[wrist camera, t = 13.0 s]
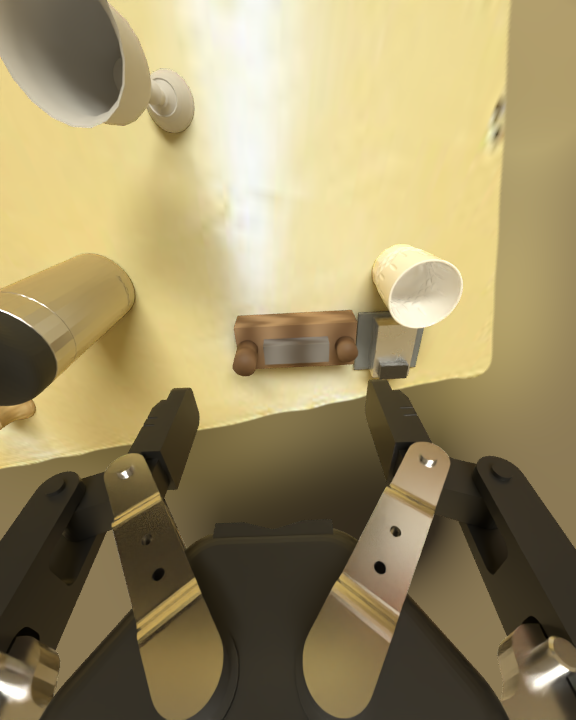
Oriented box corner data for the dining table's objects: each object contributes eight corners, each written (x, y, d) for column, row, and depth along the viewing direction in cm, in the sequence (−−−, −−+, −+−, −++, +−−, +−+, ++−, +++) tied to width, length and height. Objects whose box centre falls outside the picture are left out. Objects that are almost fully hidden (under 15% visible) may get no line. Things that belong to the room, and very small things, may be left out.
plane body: (244, 355, 48) (236, 388, 41) (237, 315, 44) (228, 344, 37) (348, 350, 47) (359, 382, 40) (351, 310, 44) (364, 338, 36)
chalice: (123, 58, 29) (-55, -59, 14) (190, 46, 28) (83, -87, 13) (151, 149, 33) (37, 136, 18) (210, 140, 32) (145, 119, 17)
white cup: (410, 301, 43) (440, 334, 35) (359, 290, 42) (377, 321, 34) (436, 245, 39) (478, 268, 30) (380, 232, 38) (406, 252, 29)
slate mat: (353, 367, 49) (354, 369, 49) (358, 312, 44) (359, 314, 43) (413, 364, 49) (415, 366, 49) (426, 309, 44) (427, 310, 43)
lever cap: (373, 316, 44) (381, 329, 40) (410, 314, 43) (422, 327, 40) (367, 366, 48) (374, 382, 45) (401, 364, 48) (410, 380, 45)
